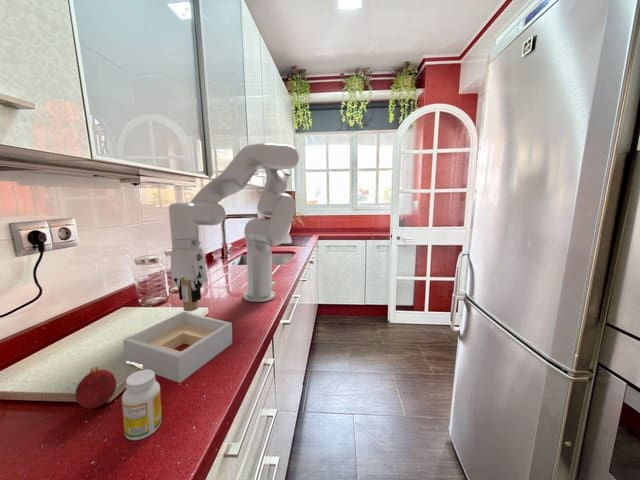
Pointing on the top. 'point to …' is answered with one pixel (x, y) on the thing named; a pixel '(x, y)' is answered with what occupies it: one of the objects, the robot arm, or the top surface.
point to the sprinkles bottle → (187, 295)
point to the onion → (95, 388)
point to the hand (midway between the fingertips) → (190, 298)
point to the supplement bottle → (141, 405)
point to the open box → (167, 335)
